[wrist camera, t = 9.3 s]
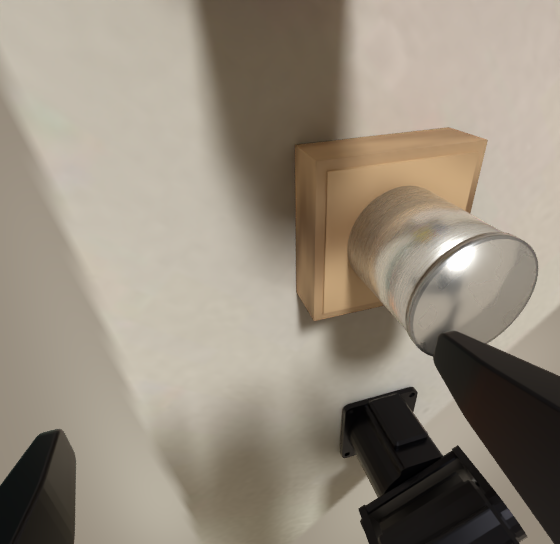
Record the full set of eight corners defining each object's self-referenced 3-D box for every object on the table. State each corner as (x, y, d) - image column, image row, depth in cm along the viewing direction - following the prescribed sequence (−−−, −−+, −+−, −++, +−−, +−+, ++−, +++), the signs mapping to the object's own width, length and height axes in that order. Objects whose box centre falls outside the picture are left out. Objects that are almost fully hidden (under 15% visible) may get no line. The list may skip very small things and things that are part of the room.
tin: (435, 274, 23) (514, 340, 18) (342, 293, 22) (401, 371, 17) (455, 176, 20) (557, 225, 15) (348, 192, 19) (423, 250, 14)
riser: (423, 266, 27) (453, 291, 24) (296, 292, 25) (315, 322, 22) (448, 127, 22) (489, 140, 20) (294, 144, 20) (317, 162, 18)
